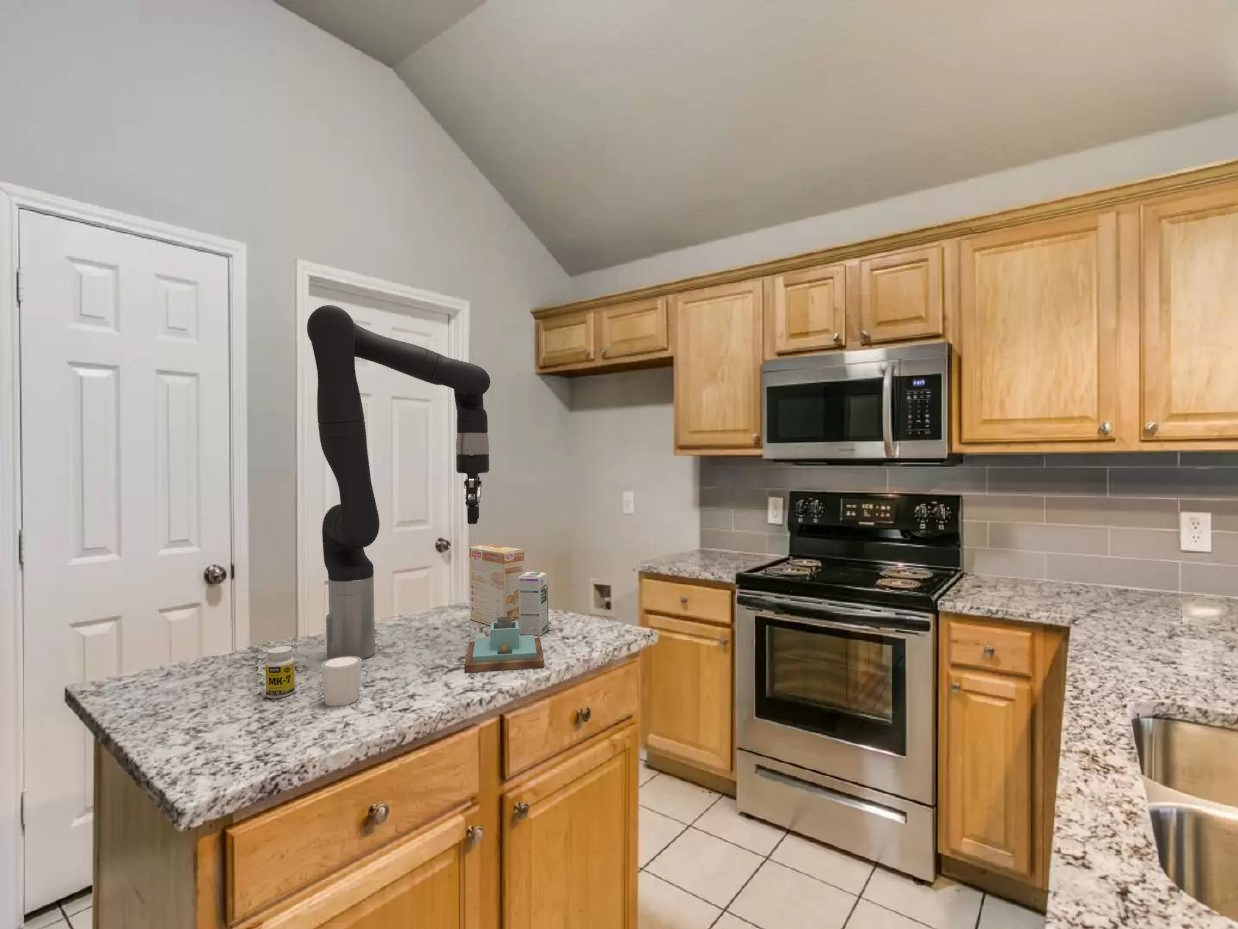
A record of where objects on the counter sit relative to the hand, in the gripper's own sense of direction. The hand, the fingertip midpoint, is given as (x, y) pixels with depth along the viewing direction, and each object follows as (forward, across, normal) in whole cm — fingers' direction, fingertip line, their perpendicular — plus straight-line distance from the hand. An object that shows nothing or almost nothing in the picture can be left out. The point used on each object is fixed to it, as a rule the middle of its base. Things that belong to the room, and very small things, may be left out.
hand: (473, 521), depth 151 cm
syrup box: (+28, -4, +14) cm, 32 cm away
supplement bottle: (+28, +27, -34) cm, 52 cm away
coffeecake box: (+28, -15, +5) cm, 32 cm away
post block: (+28, +14, +7) cm, 32 cm away
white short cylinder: (+28, +32, -22) cm, 48 cm away
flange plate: (+27, +14, +7) cm, 31 cm away
